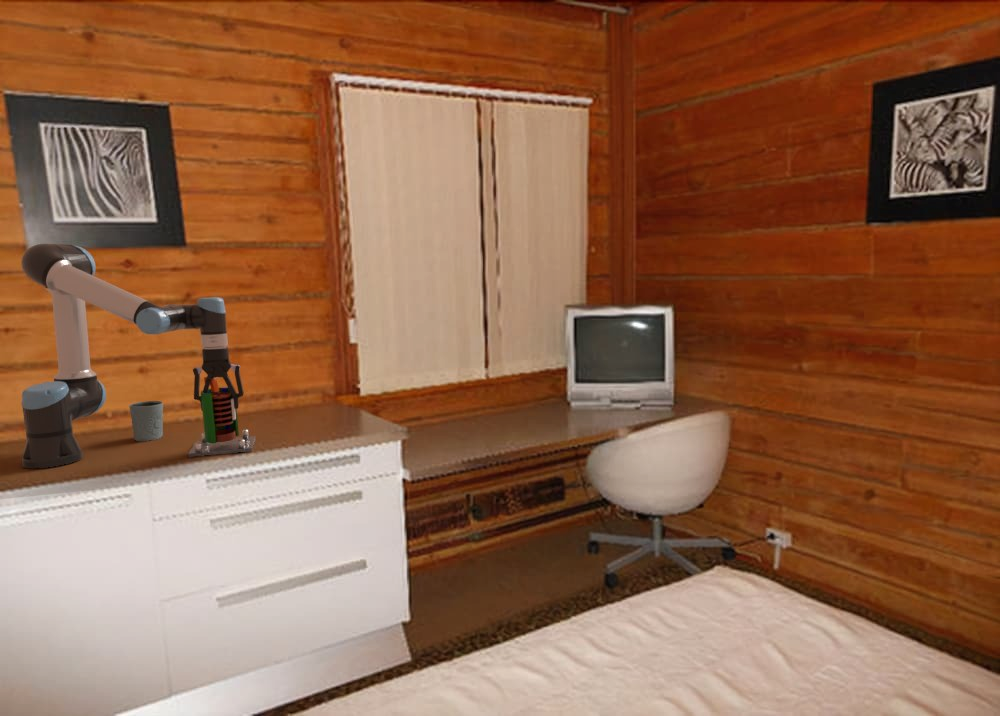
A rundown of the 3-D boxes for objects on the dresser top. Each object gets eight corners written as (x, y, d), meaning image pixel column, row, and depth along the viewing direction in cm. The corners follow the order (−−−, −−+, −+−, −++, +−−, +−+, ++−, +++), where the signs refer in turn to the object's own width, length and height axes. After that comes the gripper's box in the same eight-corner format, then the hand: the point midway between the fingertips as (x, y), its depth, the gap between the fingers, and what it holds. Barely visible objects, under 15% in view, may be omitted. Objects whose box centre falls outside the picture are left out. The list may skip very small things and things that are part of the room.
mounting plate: (188, 457, 207) (187, 445, 206) (196, 444, 222) (195, 433, 221) (251, 451, 211) (250, 440, 211) (255, 439, 227) (254, 428, 226)
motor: (224, 443, 210) (217, 379, 207) (198, 443, 212) (191, 379, 209) (243, 435, 220) (236, 373, 217) (218, 434, 222) (211, 374, 219)
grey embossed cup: (133, 437, 235) (129, 402, 233) (165, 433, 239) (162, 399, 238) (132, 443, 226) (129, 407, 224) (166, 439, 230) (163, 404, 229)
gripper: (177, 350, 206) (184, 425, 209) (248, 346, 211) (253, 419, 214) (182, 348, 213) (188, 420, 216) (250, 344, 218) (255, 415, 222)
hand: (221, 420), depth 215 cm, fingers closed on motor, 7 cm apart
